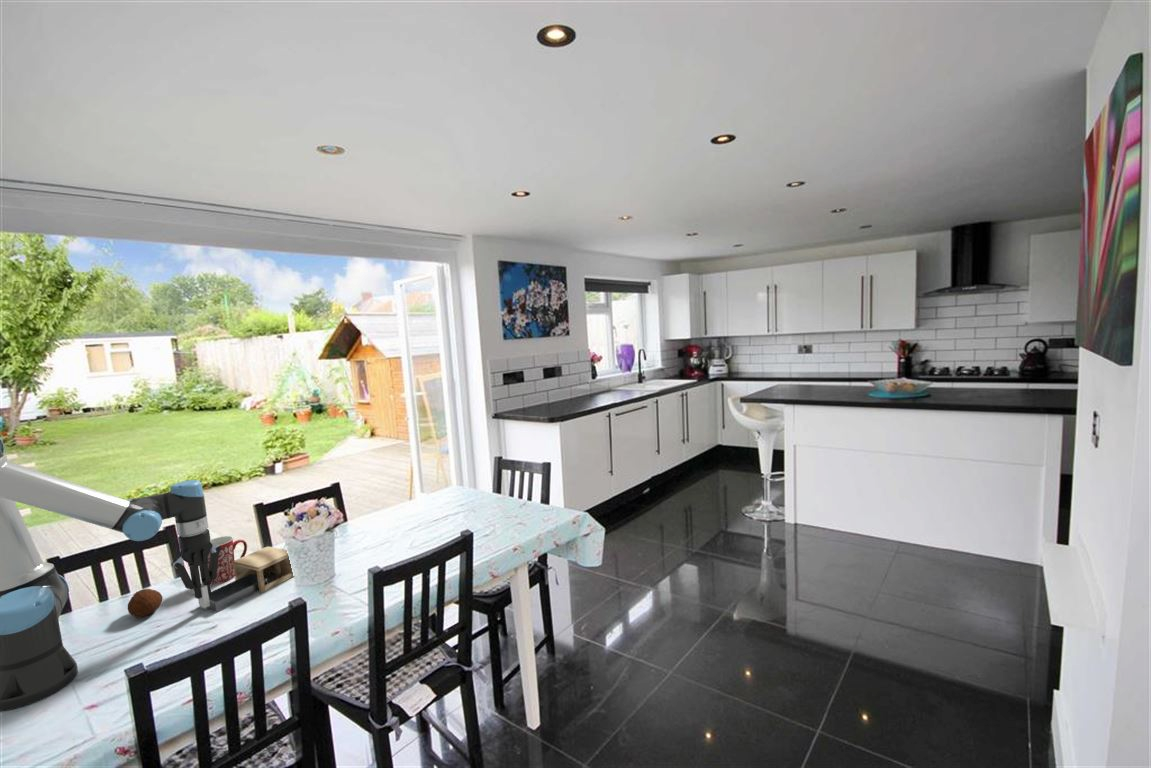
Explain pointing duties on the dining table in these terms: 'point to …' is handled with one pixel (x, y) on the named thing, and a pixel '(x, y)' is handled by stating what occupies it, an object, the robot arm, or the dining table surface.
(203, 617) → the dining table surface
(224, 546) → the mug
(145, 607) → the potato
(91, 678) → the dining table surface
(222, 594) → the tray
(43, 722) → the dining table surface
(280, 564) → the shelf
